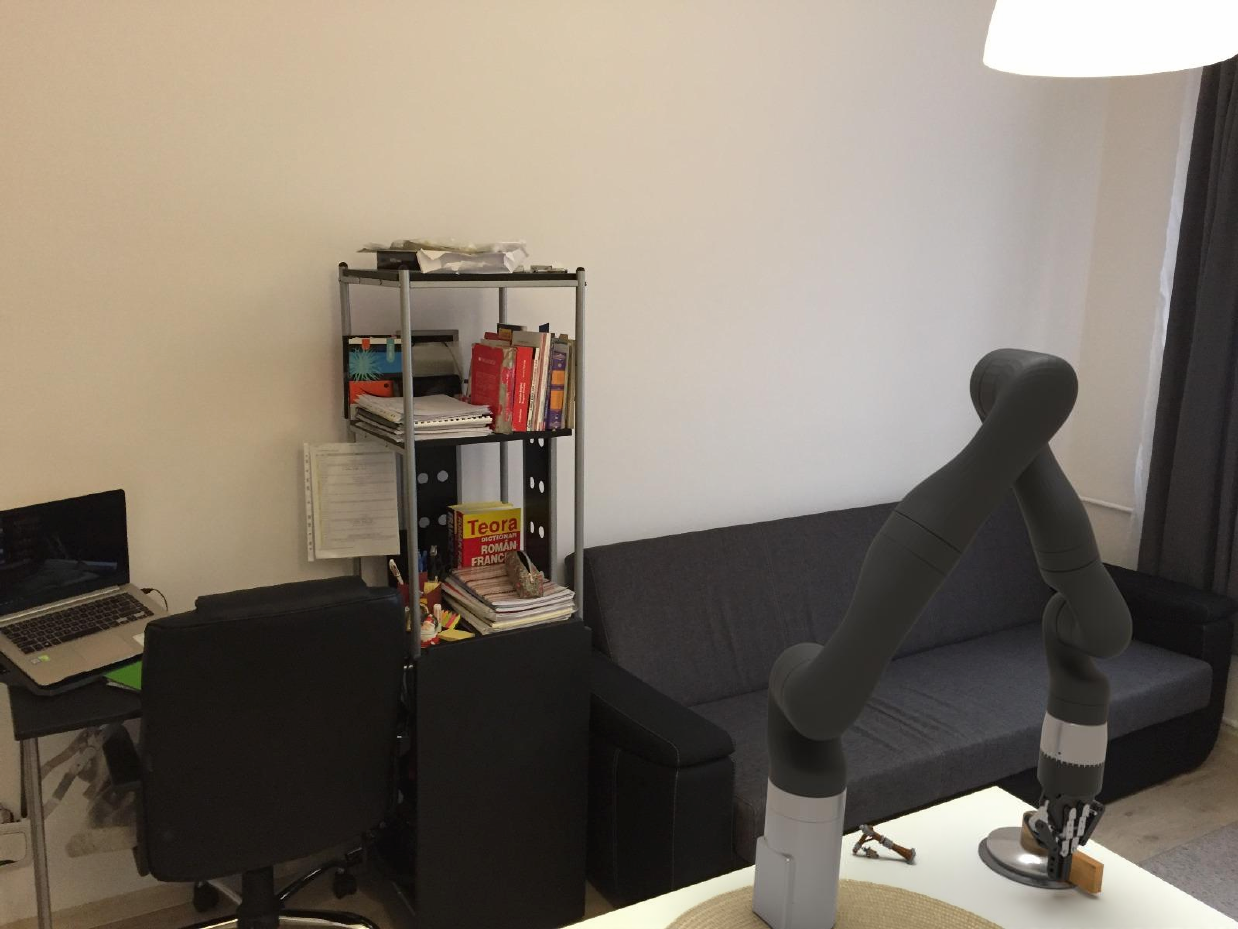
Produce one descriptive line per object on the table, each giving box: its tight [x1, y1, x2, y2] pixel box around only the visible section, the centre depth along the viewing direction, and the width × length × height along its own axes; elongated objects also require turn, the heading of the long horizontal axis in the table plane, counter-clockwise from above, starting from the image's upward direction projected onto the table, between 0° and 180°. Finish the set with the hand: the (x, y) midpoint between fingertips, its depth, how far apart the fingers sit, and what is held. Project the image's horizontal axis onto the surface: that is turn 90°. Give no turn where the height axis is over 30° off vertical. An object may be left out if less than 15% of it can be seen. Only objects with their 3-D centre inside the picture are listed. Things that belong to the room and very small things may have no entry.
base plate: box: [977, 836, 1078, 890], centre depth 142 cm, size 14×14×1 cm
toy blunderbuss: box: [852, 824, 917, 866], centre depth 141 cm, size 2×8×4 cm, turn 81°
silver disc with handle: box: [986, 826, 1105, 895], centre depth 140 cm, size 16×12×4 cm
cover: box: [1020, 809, 1049, 856], centre depth 142 cm, size 5×5×5 cm
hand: (1057, 878), depth 133 cm, fingers closed
